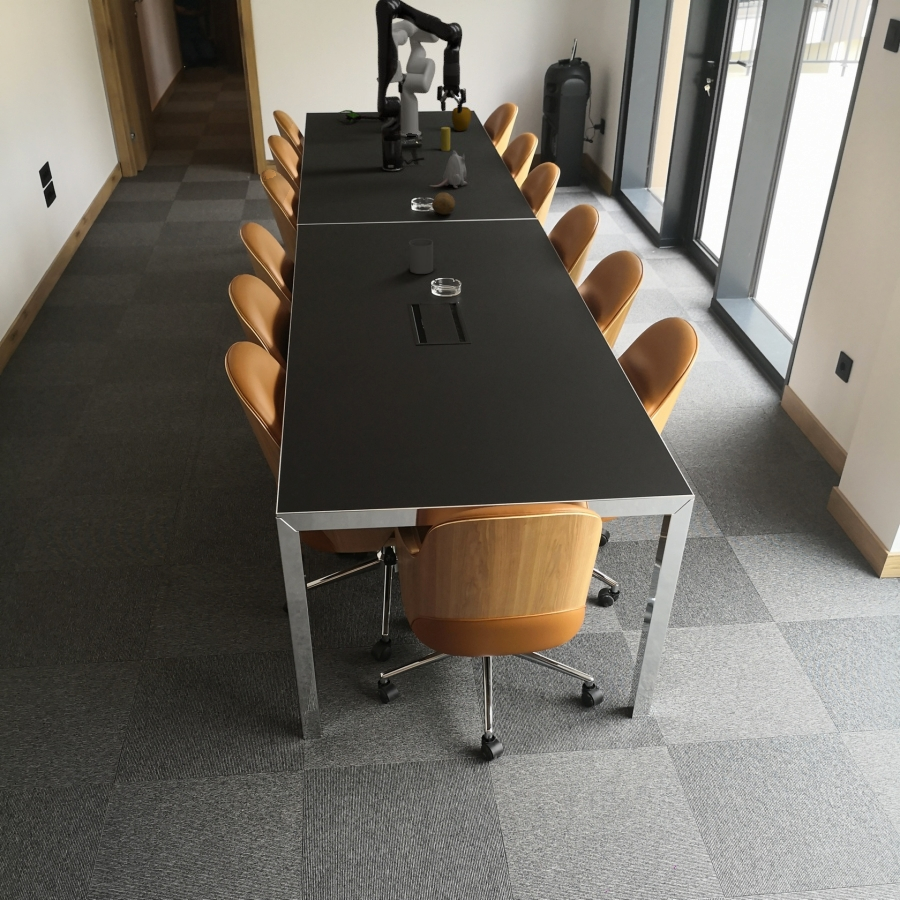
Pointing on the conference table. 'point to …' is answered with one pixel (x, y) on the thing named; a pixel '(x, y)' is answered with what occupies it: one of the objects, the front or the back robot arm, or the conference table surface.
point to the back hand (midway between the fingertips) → (392, 93)
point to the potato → (443, 203)
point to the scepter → (358, 117)
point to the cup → (421, 256)
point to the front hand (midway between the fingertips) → (451, 112)
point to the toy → (454, 171)
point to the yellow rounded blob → (461, 119)
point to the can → (445, 138)
